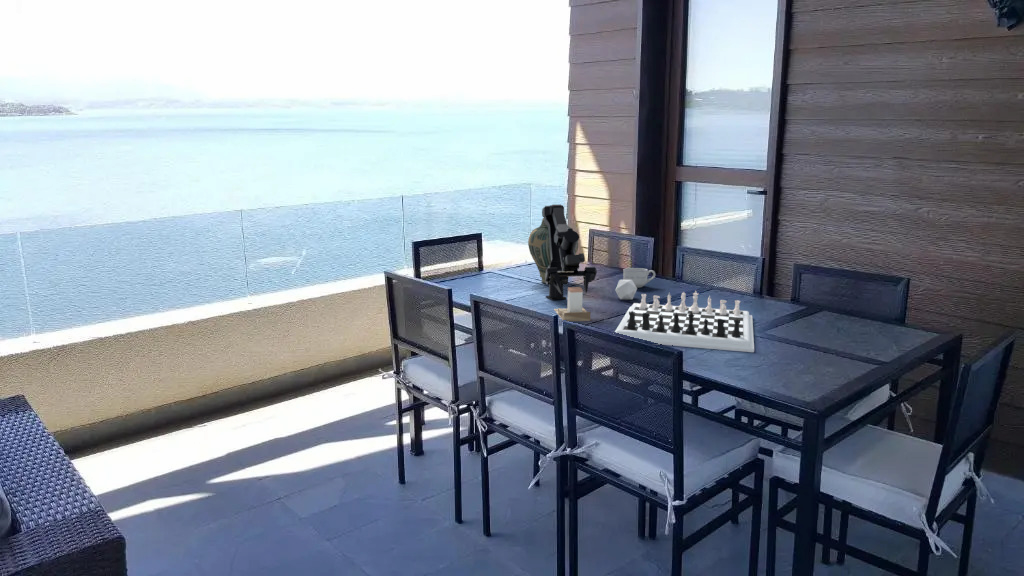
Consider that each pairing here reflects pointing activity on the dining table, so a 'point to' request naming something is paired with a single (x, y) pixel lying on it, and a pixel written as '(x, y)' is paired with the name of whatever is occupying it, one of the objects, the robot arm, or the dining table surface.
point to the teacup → (637, 276)
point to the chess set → (689, 325)
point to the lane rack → (573, 315)
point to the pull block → (575, 299)
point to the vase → (541, 248)
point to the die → (626, 289)
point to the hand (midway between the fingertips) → (574, 293)
